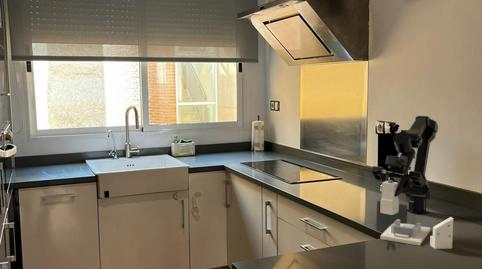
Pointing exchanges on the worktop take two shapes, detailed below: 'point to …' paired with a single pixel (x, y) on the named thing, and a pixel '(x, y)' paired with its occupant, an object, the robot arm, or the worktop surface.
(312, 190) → the worktop surface
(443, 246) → the white angled block
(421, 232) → the rail mount
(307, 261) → the worktop surface
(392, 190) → the block
